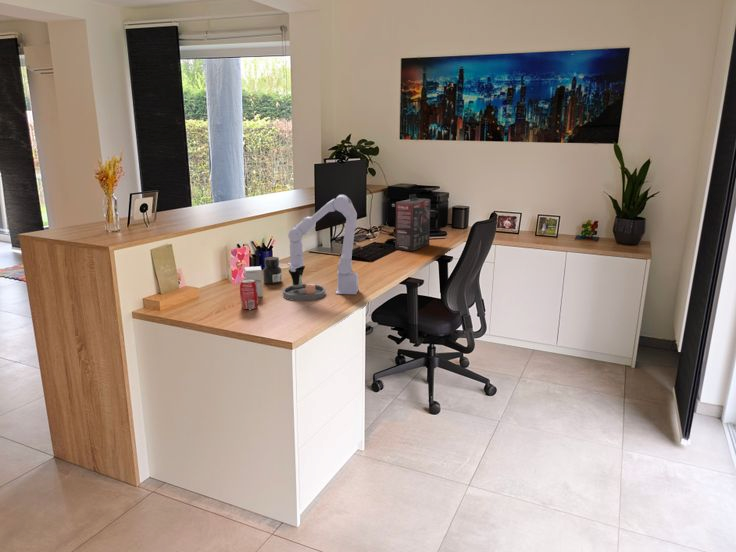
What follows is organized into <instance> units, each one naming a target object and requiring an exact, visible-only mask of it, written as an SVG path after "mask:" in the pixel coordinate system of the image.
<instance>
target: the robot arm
mask: <svg viewBox="0 0 736 552" xmlns="http://www.w3.org/2000/svg"><path fill="white" fill-rule="evenodd" d="M335 211H337V212H339V213H341V214H342V215H343V216H344V218H345V219H346V220H345V227H344V235H343V243H342V249H341V255H340V259H339V262H338V265H337V272H336V273H337V275H336V276H337V279H336V280H337V289H336V291H335V294H336V295H357V293H358V291H359V274H358V273H355V272H354V270H353V269H352V267H353V264H354V263H353V260H352V256H353V247H354V240H355V233H356V226H357V219H358V218H357V217H358V213H357V211H356V208H355V207H354V205H353V202H352V200H351V199H350V198H349V197H348V196H347V195H346V194H338V195H337V196H336V198H332V199H331V200H330V201H328V202H326V204H324V205H323V206H322V207H321V208H320V209H318V210H317V211H316V212H315V213H314V214H313V215H312V216H306V217H305V216H304V217H303V218H302V219H301V221H300V222H298V223H297V224H295V225H294V227H293V228H292V229H290V230H289V232H288V239H289V255H290V256H289V258H290V262H288V263H287V266H290V269H288V273H289V275H290V277H291V280H293V284H294V285H298V284H299V278H300V275H302V276H303V273H304V271H305V268H306V266H305V264H304V251H303V249H304V248H303V247H304V246H303V237H304V236H305V235H307V234H308V233H309V232H311V231H312V230H313V229H315V227H316V226H317V225H316V223H317V222H318V221H320V220H321V219H322V218H323V217H324V216H325V215H327V214H329V213H331V212H332V213H333V212H335ZM293 284H292V285H293Z"/></svg>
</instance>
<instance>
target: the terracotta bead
mask: <svg viewBox="0 0 736 552" xmlns="http://www.w3.org/2000/svg"><path fill="white" fill-rule="evenodd" d="M305 284H306V285H305V292H306V295H312V294H315V285H316V284H315V283H305Z"/></svg>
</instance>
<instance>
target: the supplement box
mask: <svg viewBox="0 0 736 552" xmlns="http://www.w3.org/2000/svg"><path fill="white" fill-rule="evenodd" d="M243 269H244V270H243V271H244V279H254V280H255V282H256V284H257V293H258V298H259V297H260V298H261V297H264V293H263V292H264V291H263V290H264V289H263V269H262V267H261V266H260V265H259V266H245V267H243Z"/></svg>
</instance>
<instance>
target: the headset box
mask: <svg viewBox="0 0 736 552" xmlns="http://www.w3.org/2000/svg"><path fill="white" fill-rule="evenodd" d="M430 229H431V199H430V198H418V197H417V194H416V193H413V194H409V197H408V199H406V200H400V201H396V202H395V240H394V241H395V245H394V247H395V248H396V249H395V248H394V249H395V250H401V251H407V252H413V251H416V250H419V249H422V248H425V247H428V246H430V233H431V232H430Z"/></svg>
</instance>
